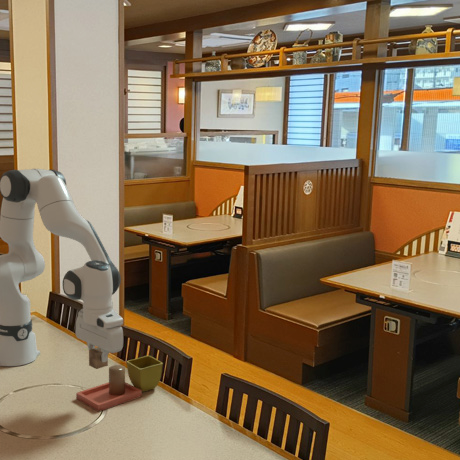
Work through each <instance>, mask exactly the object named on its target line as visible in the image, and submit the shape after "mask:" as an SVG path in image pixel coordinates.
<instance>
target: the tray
mask: <svg viewBox="0 0 460 460" xmlns="http://www.w3.org/2000/svg"><path fill="white" fill-rule="evenodd" d="M142 394H143V392H142V390H140V389H138V388H136V387H134V386H133V384H130V383H128V382H126V381H125V393H124V394H123V395H119V396H113V395H110V394H109V381H108V382H105V383H102V384H98V385H96V386H93V387H89V388H87V389H84V390H82V391H80V390H79V391H78V392H76V394H75V395H76V396H75V397H76V398H75V399H76V400H77V401H79V402H82V403H83V404H85V406H86V405H87V406H88V407H90V408H91V409H93V410H95V411H97V412H99V413H100V412H102V411H105V410H107V409H110V408H113V407H115V406H118V405H121V404H123V403H127V402H130V401H132V400H134V399H137V398H140V397H142Z"/></svg>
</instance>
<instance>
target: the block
mask: <svg viewBox="0 0 460 460" xmlns="http://www.w3.org/2000/svg"><path fill="white" fill-rule="evenodd" d="M102 353H103V352H102V351H101V348H99V347H97V346H96V347H95V348H93V349H90V350H89V349H88V366H90V367H92V368H94V369H96V370H98V369H102V368H105V367H107V366H108V365H109V361H108V360H109V358H108V357H109V355H108V356H107V361H106V362H102V361H100V356H101V355H102Z"/></svg>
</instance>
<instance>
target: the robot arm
mask: <svg viewBox="0 0 460 460" xmlns="http://www.w3.org/2000/svg"><path fill="white" fill-rule="evenodd" d="M0 194H1V196H2V201H1V207H0V239H1V240H2V241H3V242H4V243H7V245H8V252H7V253H4V254H0V367H1V366H2V367H18V366H23V365H28V364H30V363H32V362H33V361H35V360H36V359H37V358H38V356H39V355H40V354H41V351H40V349H38V348H37V339H36V333H35V332H34V331H33V320H32V318H31V317H32V316H31V300H30V298H29V297H28V296H27V295H25V294H24V293H22V292H21V290H20V287H19V285H20V284H21V283H24V282H28V281H31V280H33V279H35V278H36V277H39V276H40V275H42V274H43V273H44V271H45V267H46V261H45V258H44V256H43V255H42V254H41V253H40V251H38V250H37V248H36V246H35V245H36V244H35V242H34V241H35V240H34V225H35V224H34V223H35V208H36V205H37V208H38V213H39V217H40V219H41V221H42V224H43V226H44V227H45V229H46V230H47V231H49V232H50V233H51V234H53V235H54V236H55V235H56V236H58V237H62V238H66V239H67V238H68V239H70V240H73V241H75V242H78V243H79V244H81V245H82V247H84V248H85V251H86V252H87V255H88V256H89V259H90V261H89V260H88V261H87V262H85V263H84V265H82V266H80V267H77V268H73V269H70V270H67V272H66V273H65V274H64V275H63V276H64V277H63V280H62V290H63V291H62V292H63V293H64V295H66V296H67V297H68V298H69V299H71V300H73V301H74V300H75V301H79V300H80V301H81V300H82V302H83V303H82V308H81V309H80V310H79V311H78V313H77V315H78V316H77V317H76V319H75V320H76V322H75V337H76V338H77V339H79V340H81V341H83V342H86V346H87V349H88V351H89V350H90V349H93V348H97V347H99V348H101V351H102V352H103V353H102V355H101V356H100V361H102V362H106V361H107V356H108V357H109V354H110V353H111V354H115V353H119V352H121V351H122V350H123V347H124V331H123V327H122V325H123V324H124V319H123V317H122V316H121V315H119V314H118V312H117V311H116V310H115V309H114V305H113V304H114V303H113V301H112V300H113V299H112V296H113V295H114V294H115V293H116V292H117V291H118V289H119V288H120V285H121V281H122V278H121V273H120V271H119V269H118V268H117V267H116V266H115V264H114V262H113V261H112V259H111V258H110V256H109V254H108V252H107V251H106V248H105V246H104V244H103V243H102V241H101V239H100V237H99V235H98V233H97V231H96V229H95V227H94V226H93V225H92V223H91V222H90V221H89V220H88V219H85V218H84V217H83V216H82V215H81V213H80V212H79V211H78V209H77V207H76V205H75V202H74V200H73V197H72V195H71V192H70V190H69V189H68V187H67V181H66V178H65V176H64V174H63V173H62V172H60V170H55V169H45V168H29V169H27V168H25V169H12V170H11V169H9V170H7V171H5V172H3V173H2V175H1V177H0Z"/></svg>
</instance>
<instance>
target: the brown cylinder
mask: <svg viewBox="0 0 460 460" xmlns="http://www.w3.org/2000/svg"><path fill="white" fill-rule="evenodd" d="M108 382H109V394H110V395H113V396H119V395H123V394H124V393H125V382H126V367H125V366H124V365H120V364H117V365H115V364H114V365H112V366H109V367H108Z"/></svg>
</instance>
